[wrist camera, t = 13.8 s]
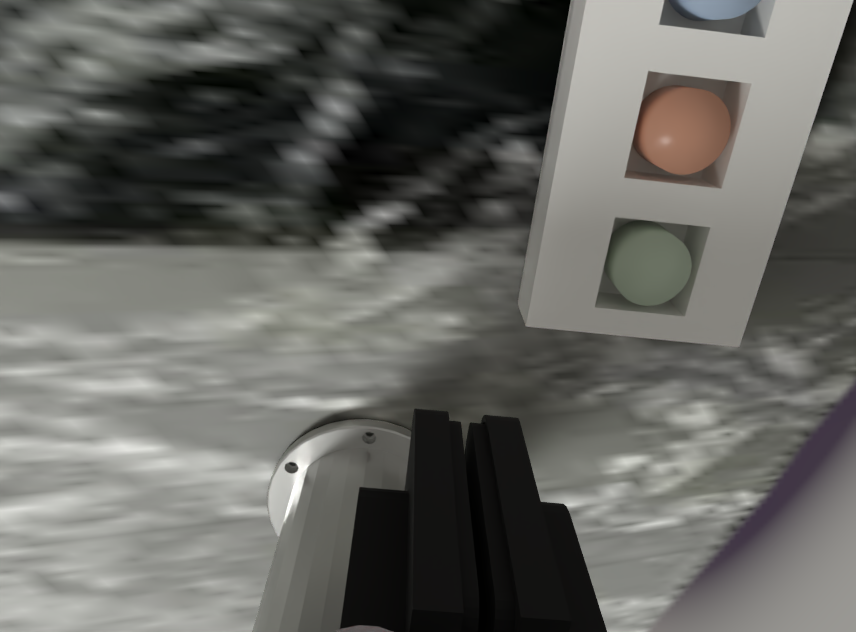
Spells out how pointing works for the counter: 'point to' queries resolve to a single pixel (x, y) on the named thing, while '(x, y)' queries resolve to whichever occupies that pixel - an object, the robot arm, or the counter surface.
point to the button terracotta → (681, 129)
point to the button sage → (647, 263)
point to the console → (663, 191)
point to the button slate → (712, 8)
